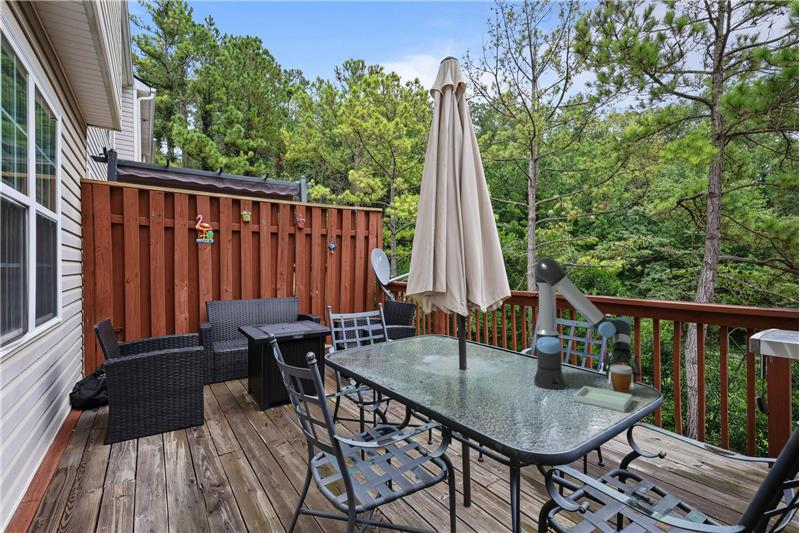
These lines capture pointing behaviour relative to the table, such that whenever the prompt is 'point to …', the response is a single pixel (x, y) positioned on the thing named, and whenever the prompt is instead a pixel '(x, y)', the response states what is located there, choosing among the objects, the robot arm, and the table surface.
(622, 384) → the disposable coffee cup
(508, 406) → the table surface
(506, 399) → the table surface
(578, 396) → the sage tray
